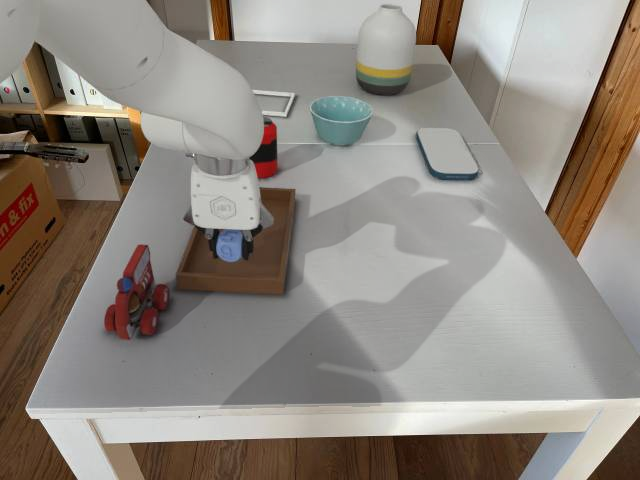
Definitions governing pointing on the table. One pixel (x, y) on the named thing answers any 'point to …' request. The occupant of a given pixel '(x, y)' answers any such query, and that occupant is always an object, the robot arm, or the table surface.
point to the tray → (243, 275)
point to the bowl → (340, 119)
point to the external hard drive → (446, 154)
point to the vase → (385, 51)
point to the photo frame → (277, 95)
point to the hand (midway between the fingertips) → (232, 253)
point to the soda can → (266, 151)
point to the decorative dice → (230, 245)
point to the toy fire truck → (136, 298)
